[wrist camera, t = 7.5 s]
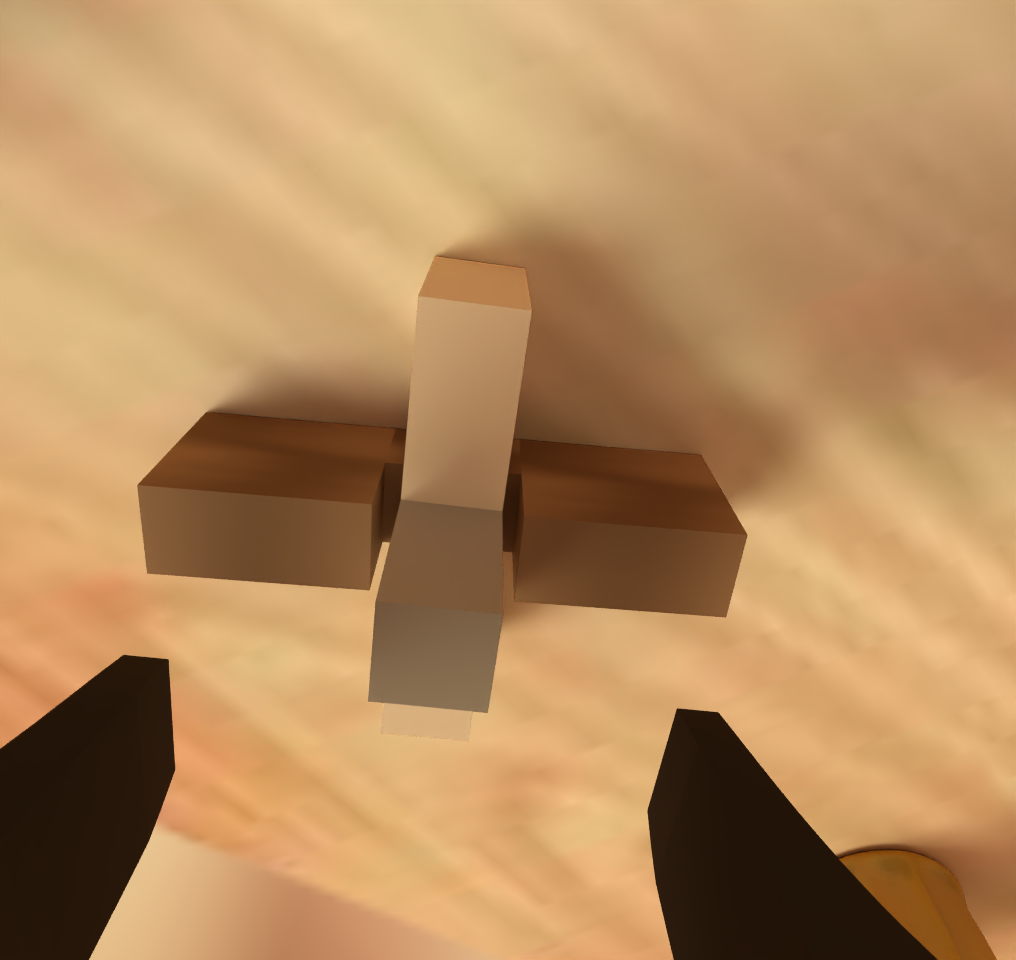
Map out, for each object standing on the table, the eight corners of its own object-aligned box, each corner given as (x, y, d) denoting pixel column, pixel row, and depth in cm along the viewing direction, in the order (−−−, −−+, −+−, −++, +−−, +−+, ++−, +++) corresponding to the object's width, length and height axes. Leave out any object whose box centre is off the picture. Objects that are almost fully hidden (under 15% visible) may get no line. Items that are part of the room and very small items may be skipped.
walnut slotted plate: (211, 487, 20) (147, 572, 16) (206, 411, 19) (137, 485, 15) (685, 525, 20) (726, 617, 17) (700, 455, 19) (747, 535, 16)
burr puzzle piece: (473, 635, 22) (461, 875, 15) (400, 627, 22) (355, 867, 15) (525, 268, 18) (541, 371, 11) (434, 255, 17) (394, 353, 11)
